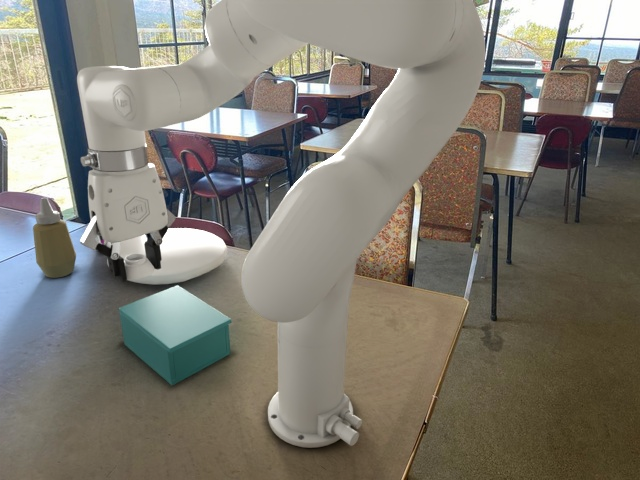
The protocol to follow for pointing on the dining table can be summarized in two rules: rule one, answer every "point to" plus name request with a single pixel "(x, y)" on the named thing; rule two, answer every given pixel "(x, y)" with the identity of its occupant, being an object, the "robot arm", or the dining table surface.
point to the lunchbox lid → (174, 317)
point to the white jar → (137, 266)
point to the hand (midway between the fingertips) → (137, 271)
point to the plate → (180, 255)
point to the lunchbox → (176, 352)
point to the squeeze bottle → (53, 243)
